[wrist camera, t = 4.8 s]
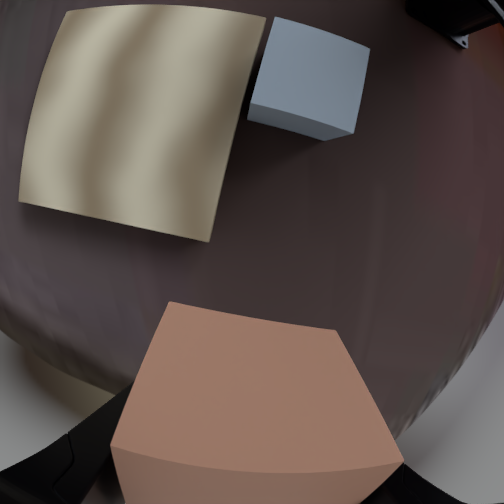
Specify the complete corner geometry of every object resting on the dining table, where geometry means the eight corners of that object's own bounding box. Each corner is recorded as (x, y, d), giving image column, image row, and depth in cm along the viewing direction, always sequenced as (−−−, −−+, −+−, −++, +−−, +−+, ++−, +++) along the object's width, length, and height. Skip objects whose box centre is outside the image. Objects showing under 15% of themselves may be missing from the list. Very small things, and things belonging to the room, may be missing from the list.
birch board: (263, 31, 15) (266, 17, 13) (211, 234, 18) (208, 242, 17) (79, 20, 13) (67, 11, 11) (34, 197, 17) (18, 201, 15)
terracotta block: (335, 330, 8) (404, 460, 4) (288, 431, 10) (308, 540, 5) (169, 301, 8) (110, 445, 3) (159, 414, 9) (134, 528, 4)
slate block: (339, 73, 16) (369, 48, 11) (323, 141, 17) (353, 133, 12) (265, 51, 15) (275, 16, 11) (246, 120, 17) (250, 102, 12)
